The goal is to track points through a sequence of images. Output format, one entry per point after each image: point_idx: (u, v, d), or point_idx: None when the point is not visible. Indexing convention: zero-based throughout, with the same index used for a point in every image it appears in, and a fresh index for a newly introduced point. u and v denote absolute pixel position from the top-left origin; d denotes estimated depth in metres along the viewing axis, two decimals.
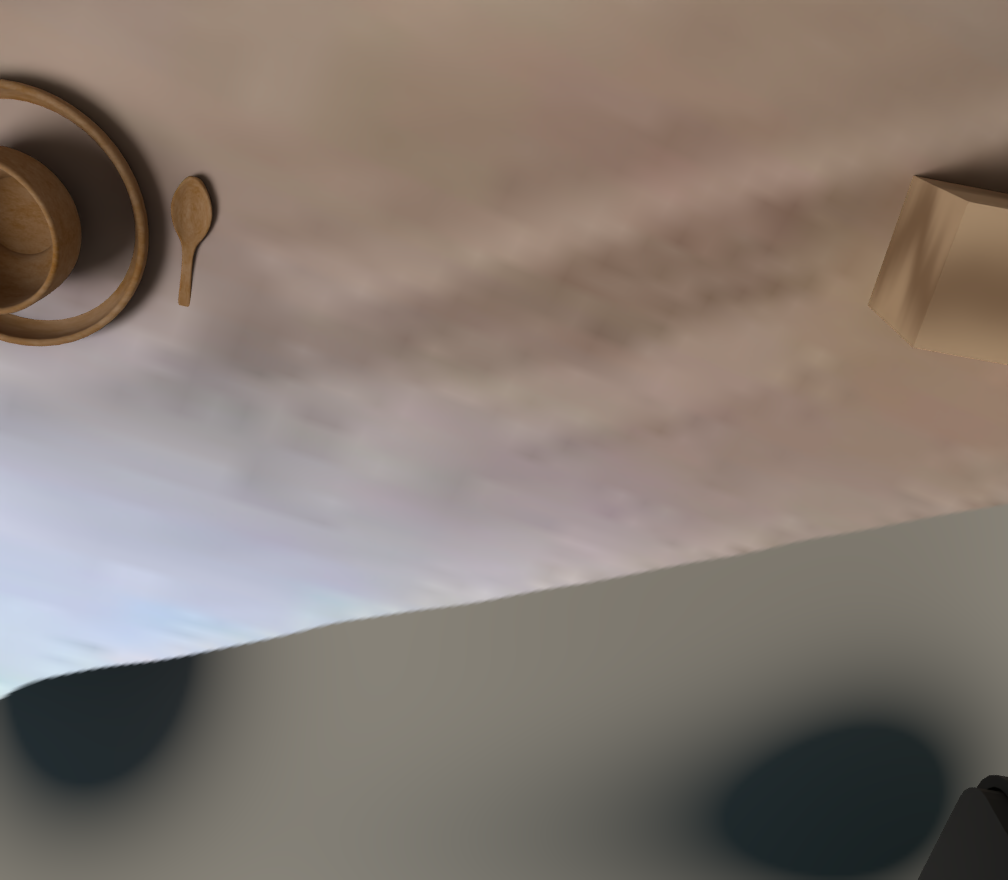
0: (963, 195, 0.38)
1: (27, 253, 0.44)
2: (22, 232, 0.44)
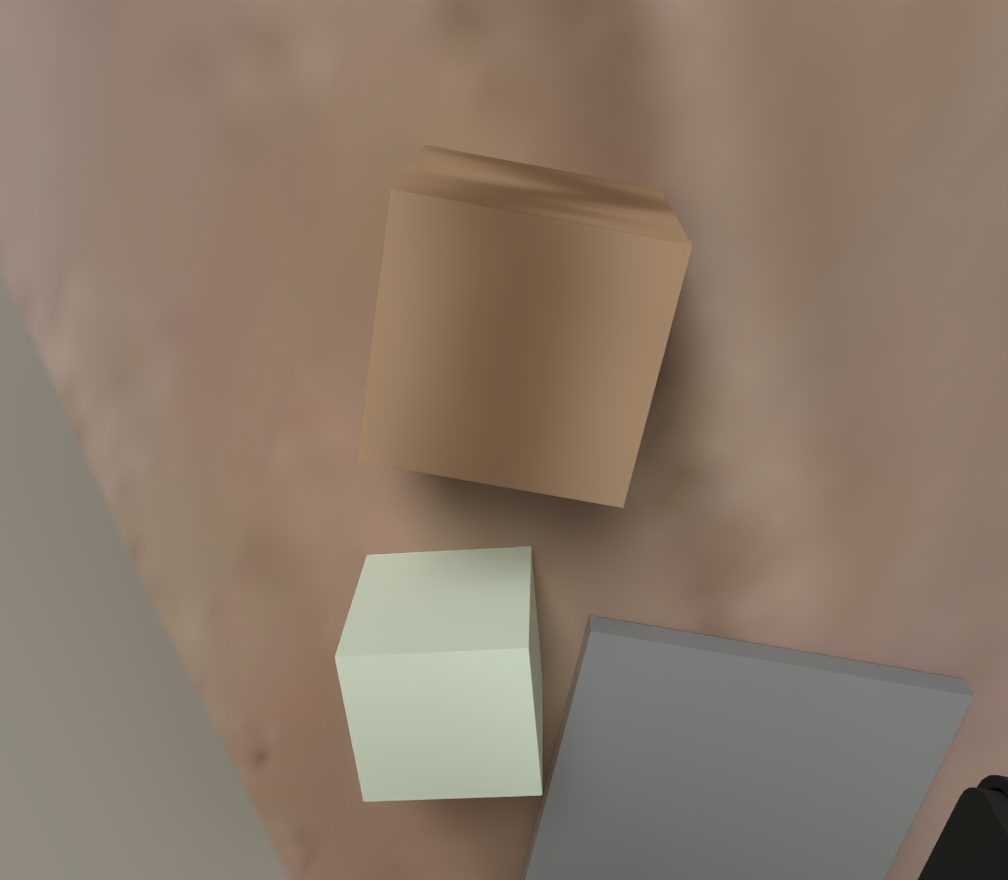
0: None
1: None
2: None
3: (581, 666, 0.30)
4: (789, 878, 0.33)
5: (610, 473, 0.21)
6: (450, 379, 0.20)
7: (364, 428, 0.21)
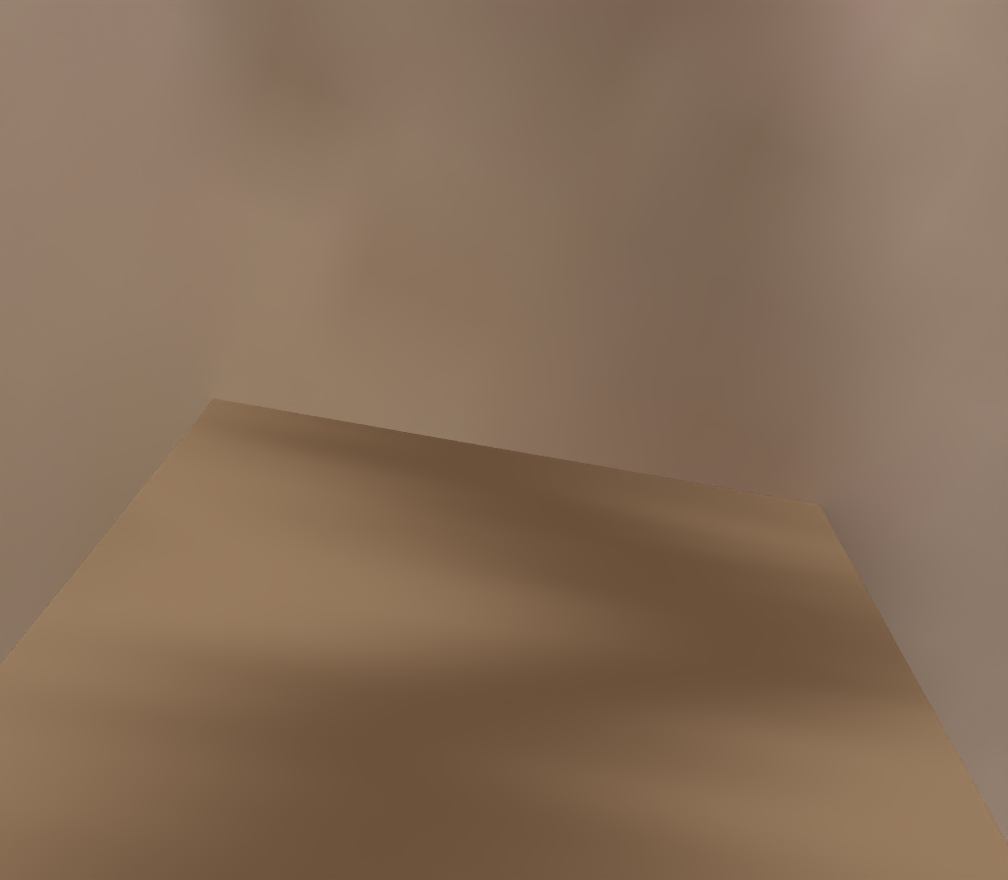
0: None
1: None
2: None
3: None
4: None
5: None
6: None
7: None
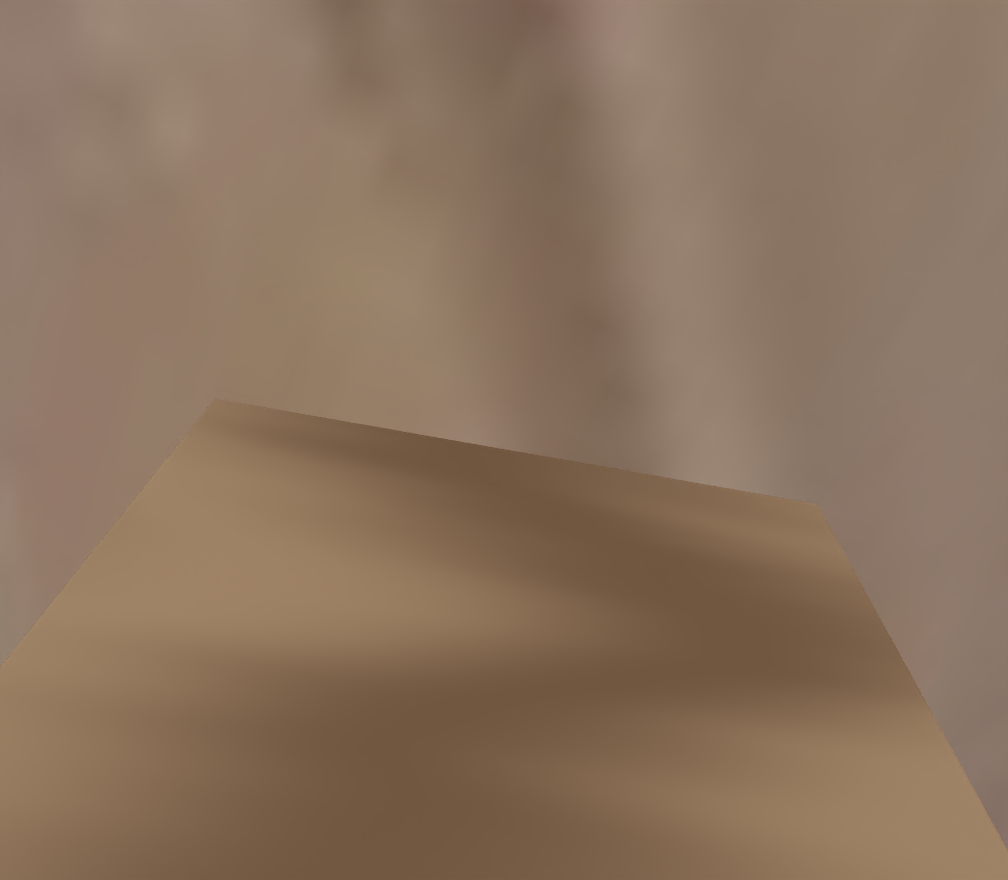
0: None
1: None
2: None
3: None
4: None
5: None
6: None
7: None
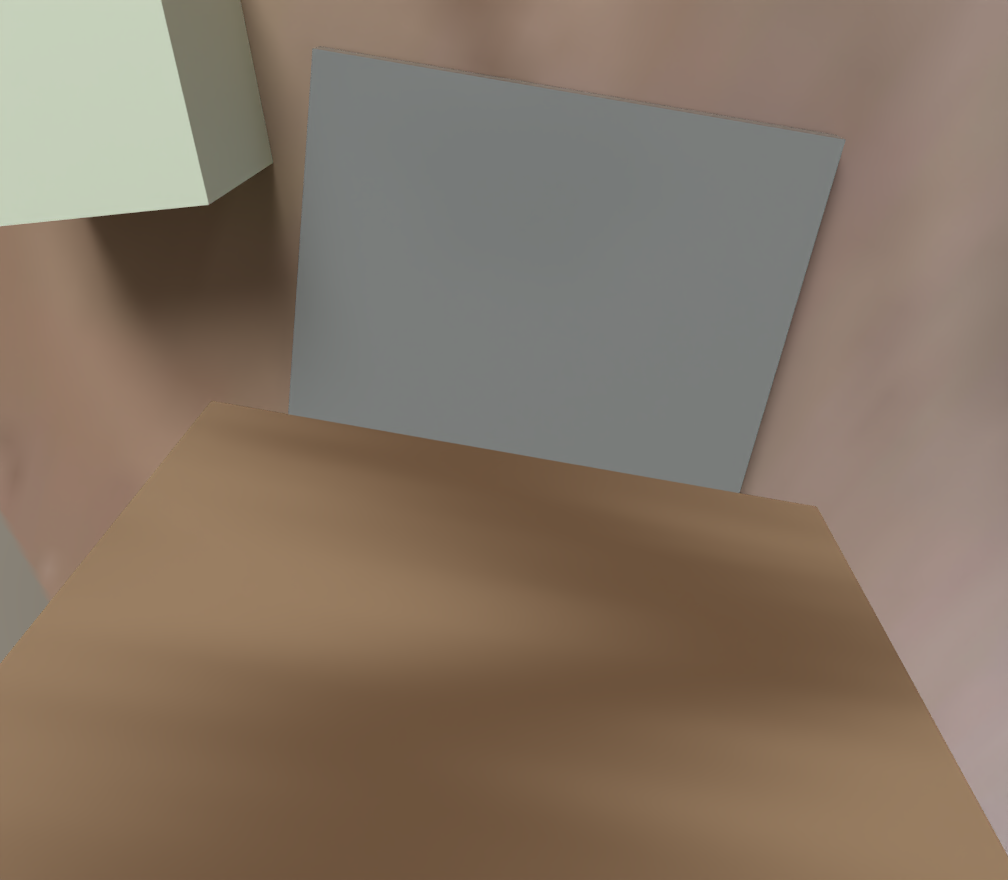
0: None
1: None
2: None
3: (309, 114, 0.22)
4: (626, 462, 0.25)
5: None
6: None
7: None
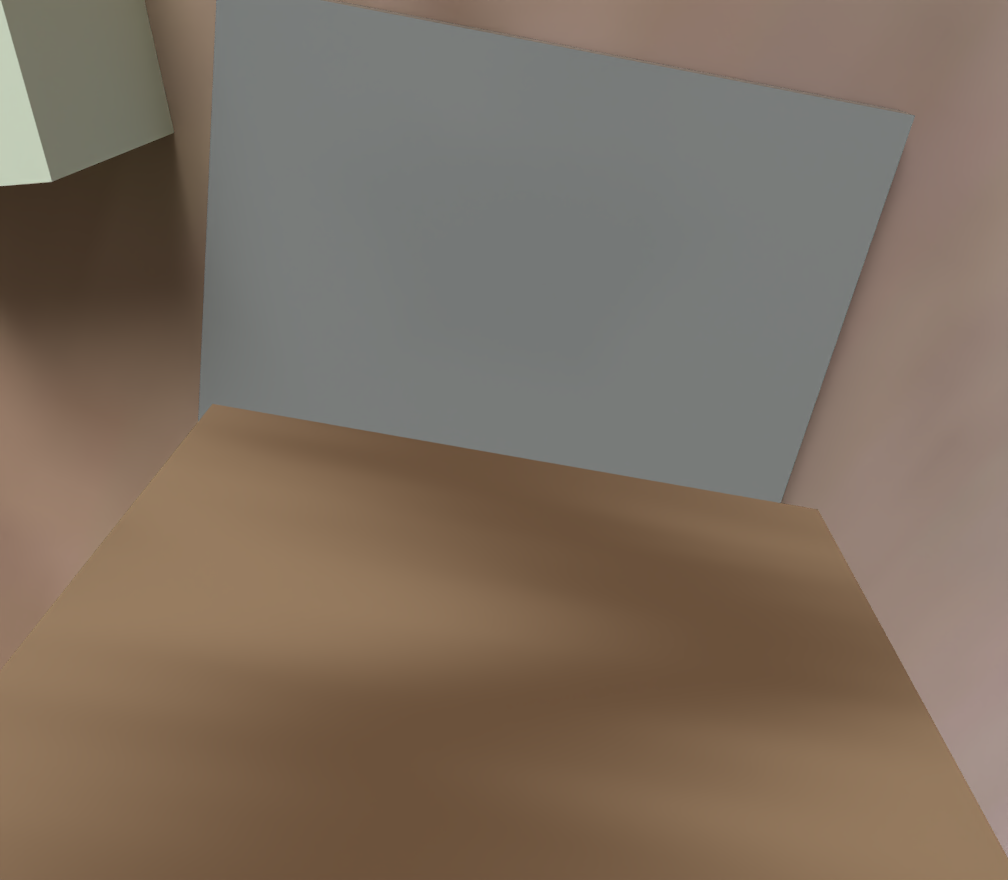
0: None
1: None
2: None
3: (215, 68, 0.17)
4: None
5: None
6: None
7: None
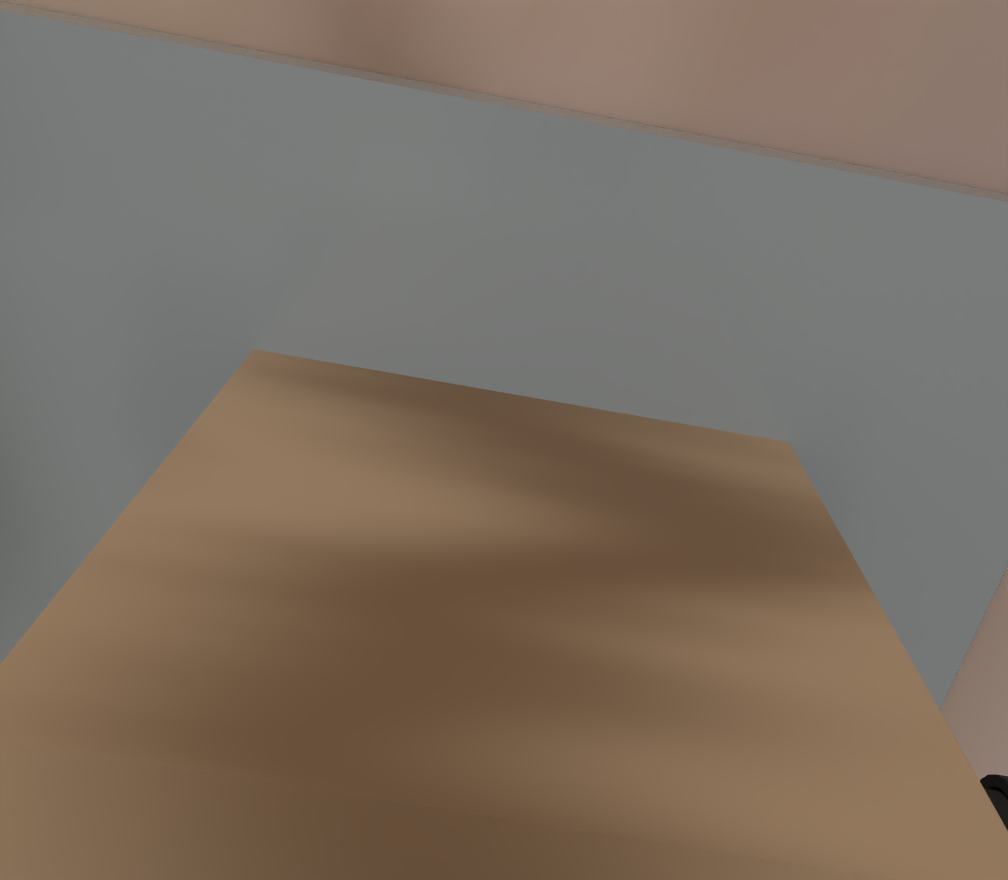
0: None
1: None
2: None
3: None
4: None
5: None
6: None
7: None
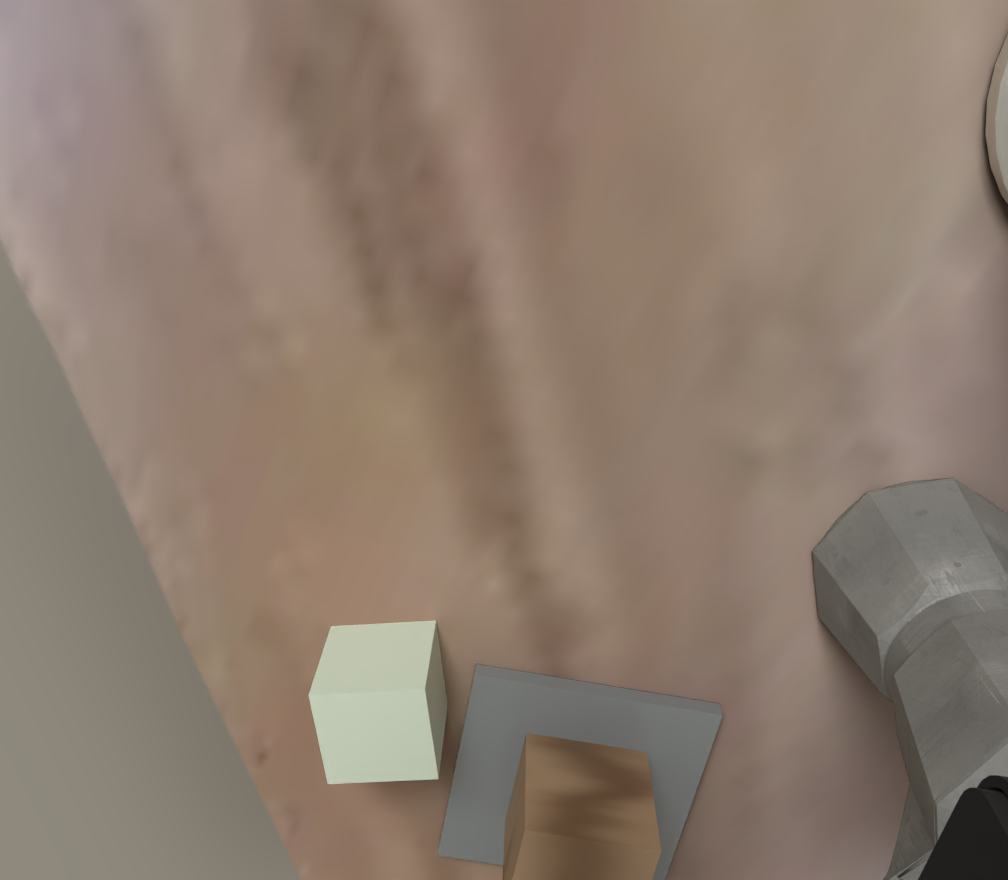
0: None
1: None
2: None
3: (470, 697, 0.46)
4: None
5: None
6: None
7: None
